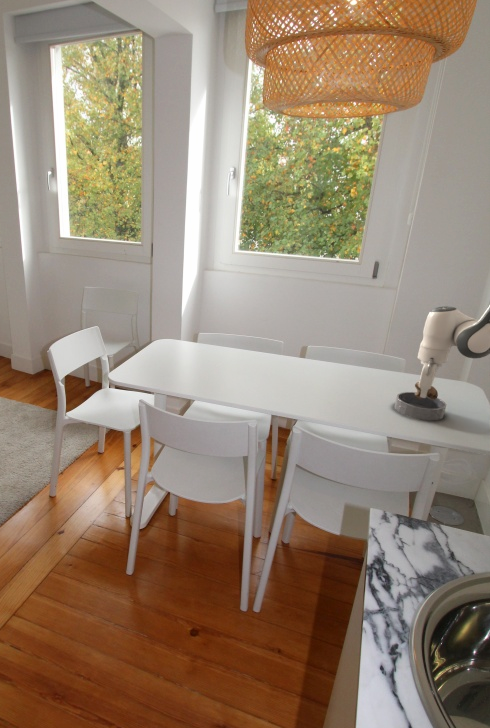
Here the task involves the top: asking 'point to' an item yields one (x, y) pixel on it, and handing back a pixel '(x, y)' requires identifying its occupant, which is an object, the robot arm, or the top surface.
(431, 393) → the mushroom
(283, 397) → the top surface
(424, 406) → the pan
